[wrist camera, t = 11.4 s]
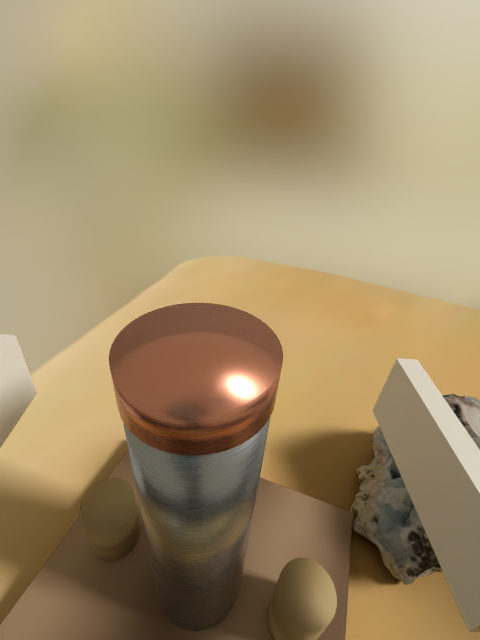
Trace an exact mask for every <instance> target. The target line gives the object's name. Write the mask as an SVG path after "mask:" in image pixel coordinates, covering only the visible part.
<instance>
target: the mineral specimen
mask: <svg viewBox="0 0 480 640" xmlns="http://www.w3.org/2000/svg"><path fill="white" fill-rule="evenodd" d="M443 397H444V399H445V400H446V402H447V403H448V405H449V406H450V407H451V409H452V410H453V412H454V413H455V415H456V416H457V418H458V419H459V421H460V422H461V423H462V425H463V426H464V428H465V429H466V431H467V432H468V434H469V435H470V436H471V438H472V439H473V441H474V442H475V444H476V445H477V447H478V448H479V450H480V401H479V400H478V399H476V398H474V397H469V396H463V397H460V396H457V395H455V394H451V395H445V396H443ZM371 443H372V445H373V450H374V458H373V460H372V461H371V463H370V464H369V465H362V466H361V467H359V468H357V469H356V474H357V475H358V477H359V482H360V483H361V485H360V486H359V489H360V492H359V493H358V494H356V495H355V497H354V498H355V501H354V502H353V504H352V506H351V508H350V512H352V513H353V515H352V527H353V530H354V531H355V532H357V533H358V534H360V535H361V536H363V537H365V538H367V539H368V540H370V541H372V543H373V544H374V545H375V546H376V547H378V548H379V550H380V553H381V556H382V559H383V563H384V565H385V566H386V567H387V569H388V570H389V571H390V573H391V574H392V575H393V576H394V577H396V578H397V579H399V580H401V581H402V582H403V583H404V585H406V584H412V583H413V582H414V581H415V580H416V579H417V578H418V577H419V576H428V575H429V574H431V573H433V572H434V571H436V572H443V571H442V568H441V566H440V564H439V562H438V559H437V557H436V555H435V552H434V550H433V548H432V545H431V543H430V541H429V539H428V536H427V534H426V532H425V529H424V527H423V525H422V523H421V520H420V518H419V516H418V513H417V511H416V509H415V506H414V504H413V502H412V500H411V497H410V495H409V493H408V490H407V488H406V486H405V484H404V481H403V479H402V477H401V474H400V472H399V470H398V467H397V465H396V463H395V461H394V458H393V456H392V454H391V451H390V449H389V447H388V445H387V442H386V440H385V438H384V435H383V433H382V431H381V429H380V427H378V428H377V429H376V431H375V432H374V434H373V438H372V440H371Z"/></svg>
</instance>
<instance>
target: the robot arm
mask: <svg viewBox="0 0 480 640" xmlns="http://www.w3.org/2000/svg"><path fill="white" fill-rule="evenodd" d="M36 394H37V392H36V390H35V387H34V384H33V382H32V379H31V376H30V373H29V371H28V368H27V365H26V363H25V360H24V357H23V354H22V352H21V349H20V346H19V343H18V341H17V338H16V335H4V334H0V448H1V446H2V445H3V443H4V442H5V440H6V439H7V437H8V436H9V434H10V433H11V431H12V430H13V428H14V427H15V425H16V424H17V422H18V421H19V419H20V418H21V416H22V415H23V413H24V412H25V410H26V409H27V407H28V406H29V404H30V403H31V401H32V400H33V398H34V397H35V395H36ZM373 412H374V415H375V417H376V419H377V422H378V424H379V426H380V429H381V431H382V433H383V435H384V438H385V440H386V442H387V445H388V447H389V449H390V451H391V454H392V456H393V458H394V461H395V463H396V465H397V467H398V470H399V472H400V474H401V477H402V479H403V481H404V484H405V486H406V488H407V490H408V493H409V495H410V497H411V500H412V502H413V504H414V506H415V509H416V511H417V513H418V516H419V518H420V520H421V523H422V525H423V527H424V529H425V532H426V534H427V536H428V539H429V541H430V543H431V545H432V548H433V550H434V552H435V555H436V557H437V559H438V562H439V564H440V566H441V568H442V571H443V573H444V575H445V578H446V580H447V582H448V584H449V587H450V589H451V591H452V594H453V596H454V598H455V601H456V603H457V605H458V607H459V610H460V612H461V614H462V617H463V619H464V621H465V623H466V626H467V628H468V630H469V632H480V450H479V448H478V447H477V445H476V444H475V442H474V441H473V439H472V438H471V436H470V435H469V434H468V432H467V431H466V429H465V428H464V426H463V425H462V423H461V422H460V421H459V419H458V418H457V416H456V415H455V413H454V412H453V410H452V409H451V407H450V406H449V405H448V403H447V402H446V400H445V399H444V397H443V396H442V394H441V393H440V392H439V390H438V389H437V387H436V386H435V384H434V383H433V381H432V380H431V379H430V377H429V376H428V374H427V373H426V371H425V370H424V368H423V367H422V365H421V364H420V363H419V361H418V360H414V359H398V358H397V359H396V361H395V363H394V365H393V368H392V370H391V372H390V374H389V376H388V378H387V381H386V383H385V385H384V387H383V389H382V391H381V393H380V396H379V398H378V400H377V402H376V404H375V406H374V409H373Z"/></svg>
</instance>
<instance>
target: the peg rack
mask: <svg viewBox="0 0 480 640" xmlns="http://www.w3.org/2000/svg"><path fill="white" fill-rule="evenodd" d="M80 514H81V515H80V517H79V518H78V519H77V521H76V522H75V523H74V525H73V526H72V528H71V529H70V530H69V532H68V533H67V534H66V536H65V537H64V539H63V540H62V541H61V543H60V544H59V545H58V547H57V548H56V549H55V551H54V552H53V554H52V555H51V556H50V558H49V559H48V560H47V562H46V563H45V564H44V566H43V567H42V569H41V570H40V571H39V573H38V574H37V575H36V577H35V578H34V580H33V581H32V582H31V584H30V585H29V586H28V588H27V589H26V590H25V592H24V593H23V595H22V596H21V597H20V599H19V600H18V601H17V603H16V604H15V605H14V607H13V608H12V610H11V611H10V612H9V614H8V615H7V616H6V618H5V619H4V621H3V622H2V623H1V625H0V640H345V632H346V615H347V599H348V582H349V565H350V548H351V532H352V515H353V513H352V512H350V511H347V510H344V509H342V508H339V507H336V506H334V505H331V504H329V503H326V502H323V501H321V500H318V499H315V498H313V497H310V496H307V495H305V494H302V493H300V492H297V491H294V490H292V489H289V488H286V487H284V486H281V485H279V484H276V483H273V482H271V481H268V480H265V479H263V478H259V484H258V489H257V495H256V501H255V506H254V512H253V518H252V523H251V529H250V535H249V540H248V546H247V552H246V557H245V563H244V568H243V574H242V580H241V585H240V590H239V594H238V597H237V600H236V602H235V604H234V606H233V607H232V609H231V611H230V612H229V613H228V614H227V616H226V617H225V618H224V619H223V620H222V621H221V622H219V623H218V624H216V625H215V626H213V627H211V628H209V629H205V630H201V631H189V630H184V629H182V628H179V627H178V626H176V625H174V624H173V623H172V622H171V621H170V620H169V619H168V618H167V617H166V616H165V614H164V613H163V611H162V610H161V607H160V605H159V603H158V599H157V595H156V590H155V585H154V579H153V574H152V569H151V564H150V558H149V553H148V548H147V543H146V538H145V532H144V527H143V522H142V517H141V512H140V506H139V501H138V496H137V491H136V486H135V480H134V475H133V470H132V465H131V460H130V454H129V450H128V451H127V452H126V454H125V455H124V457H123V458H122V459H121V461H120V462H119V463H118V465H117V466H116V467H115V469H114V470H113V472H112V473H111V474H110V476H109V477H108V478H107V479H106V480H103V481H101V482H99V483H97V484H95V485H94V486H93V487H92V488H91V489H90V490H89V491H88V492H87V493H86V495H85V496H84V498H83V500H82V503H81V507H80Z"/></svg>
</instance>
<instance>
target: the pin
mask: <svg viewBox="0 0 480 640" xmlns="http://www.w3.org/2000/svg"><path fill="white" fill-rule="evenodd" d="M282 362H283V352H282V347H281V344H280V341H279V339H278V338H277V336H276V334H275V333H274V332H273V331H272V329H271V328H270V327H268V326H267V325H266V324H265V323H264V322H262V321H261V320H260V319H258V318H256V317H255V316H253V315H251V314H249V313H247V312H244V311H242V310H239V309H236V308H233V307H229V306H224V305H219V304H211V303H185V304H177V305H172V306H167V307H163V308H160V309H156V310H154V311H151V312H148V313H146V314H144V315H142V316H140V317H138V318H137V319H135V320H133V321H132V322H131V323H129V324H128V325H127V326H126V327H125V328H124V329H123V330H122V331H121V332H120V333H119V334H118V335H117V337H116V338H115V340H114V342H113V344H112V346H111V349H110V354H109V364H110V370H111V375H112V380H113V385H114V390H115V395H116V401H117V406H118V410H119V413H120V416H121V419H122V420H123V423H124V428H125V434H126V439H127V444H128V449H129V454H130V460H131V465H132V470H133V475H134V480H135V486H136V491H137V496H138V501H139V506H140V512H141V517H142V522H143V527H144V532H145V538H146V543H147V548H148V553H149V558H150V564H151V569H152V574H153V579H154V585H155V590H156V595H157V599H158V603H159V605H160V607H161V610H162V611H163V613H164V614H165V616H166V617H167V618H168V619H169V620H170V621H171V622H172V623H173V624H174V625H176V626H178V627H179V628H182V629H184V630H189V631H201V630H205V629H209V628H211V627H213V626H215V625H216V624H218V623H219V622H221V621H222V620H223V619H224V618H225V617H226V616H227V614H228V613H229V612H230V611H231V609H232V607H233V606H234V604H235V602H236V600H237V597H238V594H239V590H240V585H241V580H242V574H243V568H244V563H245V557H246V552H247V546H248V540H249V535H250V529H251V523H252V518H253V512H254V506H255V501H256V495H257V489H258V484H259V478H260V472H261V467H262V461H263V456H264V450H265V444H266V439H267V433H268V427H269V422H270V416H271V414H272V412H273V409H274V405H275V401H276V395H277V390H278V384H279V379H280V373H281V368H282Z"/></svg>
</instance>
